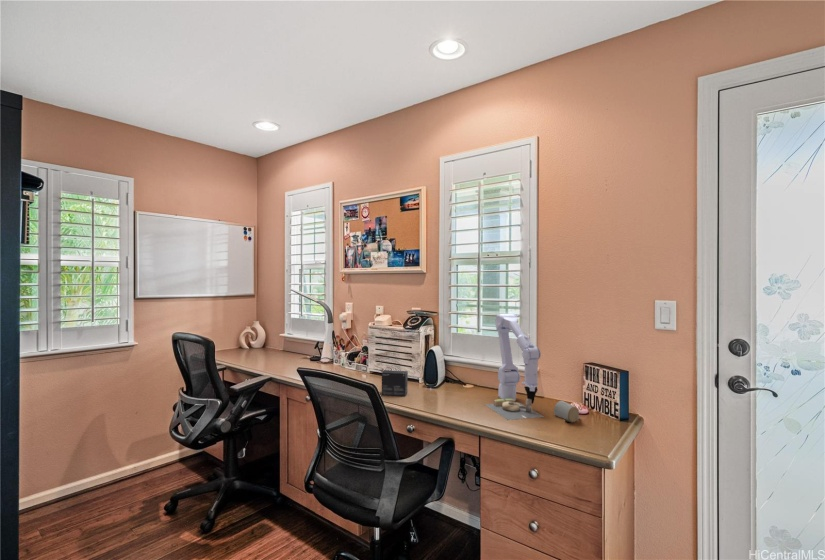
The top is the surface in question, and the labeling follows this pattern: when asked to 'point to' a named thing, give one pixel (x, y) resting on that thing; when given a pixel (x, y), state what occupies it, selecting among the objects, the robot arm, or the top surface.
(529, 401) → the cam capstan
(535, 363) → the robot arm
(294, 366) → the top surface
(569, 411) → the ceramic mug
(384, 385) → the small box
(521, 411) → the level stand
